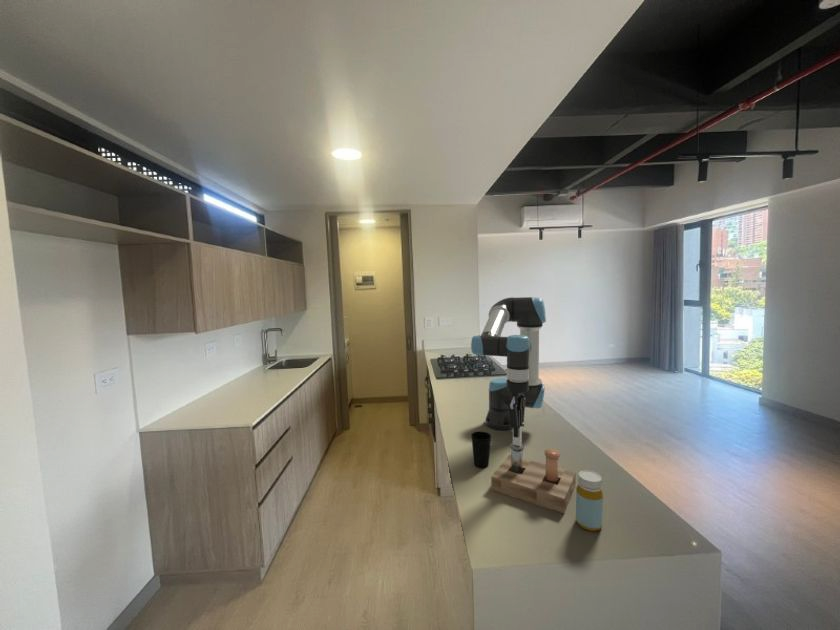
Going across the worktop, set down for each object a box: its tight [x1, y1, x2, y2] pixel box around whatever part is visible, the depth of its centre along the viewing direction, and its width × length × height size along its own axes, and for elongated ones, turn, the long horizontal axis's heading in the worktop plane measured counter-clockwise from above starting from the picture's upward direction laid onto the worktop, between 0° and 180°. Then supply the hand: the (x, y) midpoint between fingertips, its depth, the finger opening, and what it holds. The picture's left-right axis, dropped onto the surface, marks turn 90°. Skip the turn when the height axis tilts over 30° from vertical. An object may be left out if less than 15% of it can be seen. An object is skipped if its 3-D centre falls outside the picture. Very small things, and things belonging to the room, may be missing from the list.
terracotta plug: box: [544, 448, 561, 481], centre depth 119 cm, size 5×5×9 cm
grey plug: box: [509, 441, 525, 472], centre depth 125 cm, size 5×5×9 cm
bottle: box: [575, 470, 604, 532], centre depth 103 cm, size 7×7×15 cm
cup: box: [470, 431, 492, 469], centre depth 139 cm, size 8×8×12 cm
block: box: [490, 454, 577, 515], centre depth 123 cm, size 18×24×5 cm
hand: (517, 444), depth 125 cm, fingers closed
